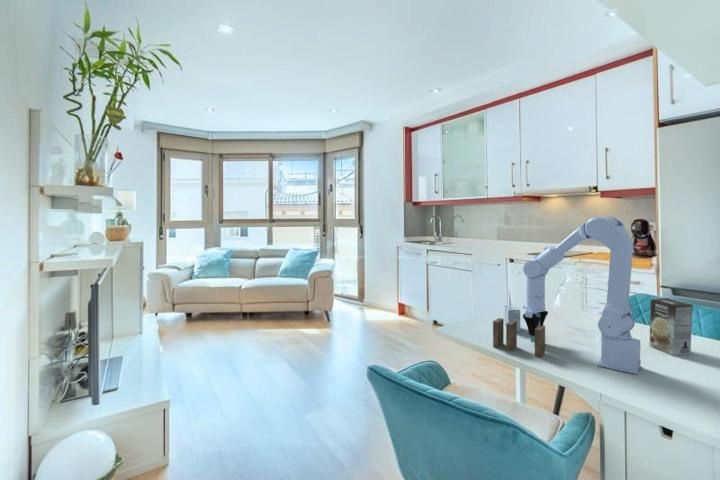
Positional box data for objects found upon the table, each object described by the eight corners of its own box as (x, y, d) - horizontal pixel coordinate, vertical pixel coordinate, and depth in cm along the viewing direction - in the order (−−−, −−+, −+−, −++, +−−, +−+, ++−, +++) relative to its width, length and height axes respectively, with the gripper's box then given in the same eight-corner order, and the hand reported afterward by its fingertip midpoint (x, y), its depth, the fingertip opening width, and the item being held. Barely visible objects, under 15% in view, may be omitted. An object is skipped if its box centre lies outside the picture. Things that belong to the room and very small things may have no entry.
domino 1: (516, 346, 126) (516, 321, 126) (511, 351, 123) (511, 324, 122) (511, 345, 127) (511, 320, 127) (506, 350, 124) (506, 323, 123)
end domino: (503, 344, 129) (503, 318, 129) (497, 348, 126) (497, 322, 125) (498, 343, 130) (498, 317, 130) (493, 347, 127) (493, 321, 126)
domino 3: (544, 353, 120) (545, 325, 120) (539, 357, 117) (540, 329, 116) (539, 351, 121) (539, 325, 121) (534, 356, 118) (534, 328, 117)
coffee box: (647, 346, 124) (649, 298, 123) (665, 345, 124) (667, 297, 123) (672, 356, 115) (674, 305, 114) (692, 355, 115) (694, 304, 114)
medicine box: (520, 332, 141) (520, 310, 141) (508, 332, 142) (508, 309, 141) (516, 326, 149) (516, 304, 148) (504, 325, 150) (504, 304, 149)
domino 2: (540, 338, 130) (540, 313, 130) (535, 342, 127) (535, 316, 126) (535, 337, 132) (535, 312, 131) (530, 341, 128) (530, 316, 127)
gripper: (530, 289, 136) (530, 326, 137) (516, 297, 126) (516, 336, 126) (551, 292, 131) (551, 329, 132) (538, 299, 121) (538, 340, 122)
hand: (535, 333), depth 129 cm, fingers closed on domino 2, 5 cm apart
